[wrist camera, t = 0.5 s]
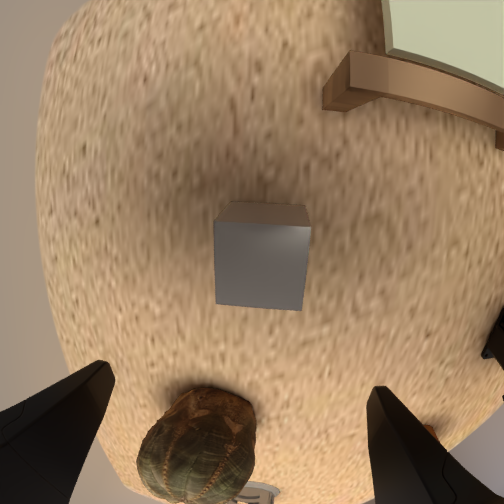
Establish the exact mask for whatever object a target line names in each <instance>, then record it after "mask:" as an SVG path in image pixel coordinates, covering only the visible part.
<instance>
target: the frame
mask: <svg viewBox="0 0 504 504" xmlns="http://www.w3.org/2000/svg"><path fill="white" fill-rule="evenodd" d="M378 97H385V98H390V99H395V100H400V101H404V102H409V103H413V104H417V105H421V106H425V107H429V108H432V109H436V110H439V111H443V112H446V113H449V114H453V115H456V116H459V117H462V118H465V119H468V120H471V121H474V122H476V123H479V124H482V125H485V126H487V127H490V128H492V129H495V130H496V148H497V149H499V150H502V151H504V98H503V97H501V96H499V95H496V94H494V93H492V92H490V91H488V90H485V89H483V88H481V87H479V86H476V85H474V84H471V83H469V82H466V81H464V80H461V79H459V78H456V77H453V76H450V75H447V74H445V73H442V72H439V71H436V70H432V69H429V68H426V67H423V66H419V65H416V64H412V63H408V62H405V61H401V60H396V59H392V58H388V57H383V56H379V55H374V54H369V53H363V52H357V51H351V50H350V51H349V52H348V54H347V55H346V56H345V58H344V59H343V61H342V62H341V63H340V65H339V66H338V67H337V69H336V70H335V72H334V73H333V74H332V76H331V77H330V79H329V80H328V82H327V83H326V84H325V86H324V87H323V106H322V110H330V111H339V112H347V111H349V110H351V109H353V108H356V107H358V106H360V105H362V104H365V103H367V102H369V101H371V100H374V99H376V98H378Z"/></svg>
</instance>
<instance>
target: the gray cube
mask: <svg viewBox="0 0 504 504" xmlns="http://www.w3.org/2000/svg"><path fill="white" fill-rule="evenodd" d="M310 234H311V225H310V221H309V217H308V213H307V210H306V206H302V205H288V204H272V203H254V202H233V201H231V202H230V203H229V204H228V205H227V207H226V208H225V209H224V210H223V211H222V212H221V213H220V215H219V216H218V217H217V218H216V219H215V220H214V264H215V296H216V304H221V305H231V306H242V307H254V308H266V309H279V310H294V311H302V304H303V297H304V289H305V281H306V272H307V263H308V254H309V245H310Z"/></svg>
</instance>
